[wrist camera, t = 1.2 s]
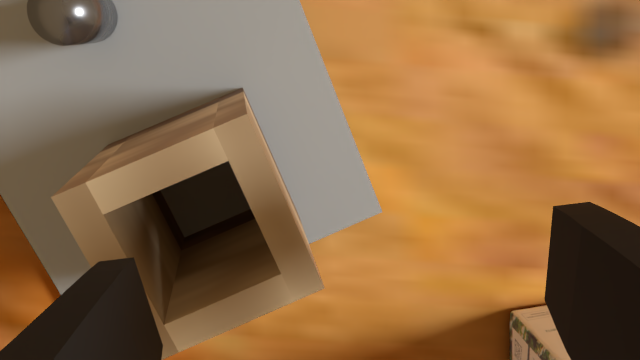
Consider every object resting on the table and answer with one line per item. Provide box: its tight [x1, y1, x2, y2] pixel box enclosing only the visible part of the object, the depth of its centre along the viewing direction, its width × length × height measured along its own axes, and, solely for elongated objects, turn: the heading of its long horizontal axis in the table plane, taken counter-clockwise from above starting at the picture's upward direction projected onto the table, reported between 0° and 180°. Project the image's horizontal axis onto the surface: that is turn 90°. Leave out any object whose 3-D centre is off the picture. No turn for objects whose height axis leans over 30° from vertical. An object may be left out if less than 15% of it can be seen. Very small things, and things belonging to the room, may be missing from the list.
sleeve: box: [51, 88, 324, 360], centre depth 16 cm, size 5×5×6 cm
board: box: [0, 0, 382, 295], centre depth 18 cm, size 11×19×1 cm, turn 22°
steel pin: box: [27, 0, 118, 46], centre depth 16 cm, size 2×2×4 cm
